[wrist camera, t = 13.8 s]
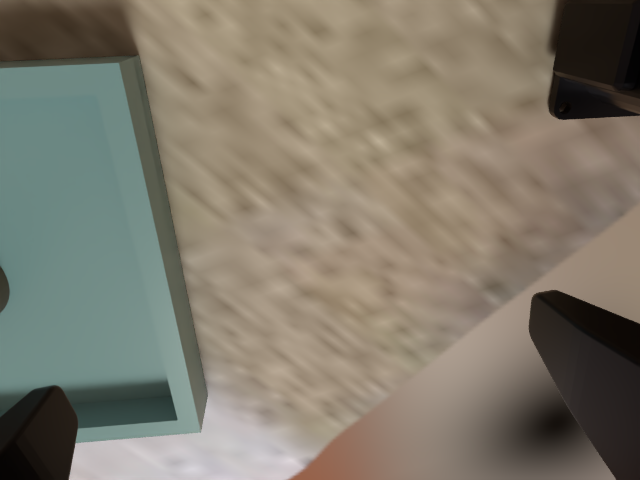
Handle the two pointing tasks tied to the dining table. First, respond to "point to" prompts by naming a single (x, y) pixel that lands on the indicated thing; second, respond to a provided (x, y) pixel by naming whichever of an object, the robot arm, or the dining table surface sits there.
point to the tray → (92, 252)
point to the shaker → (3, 290)
